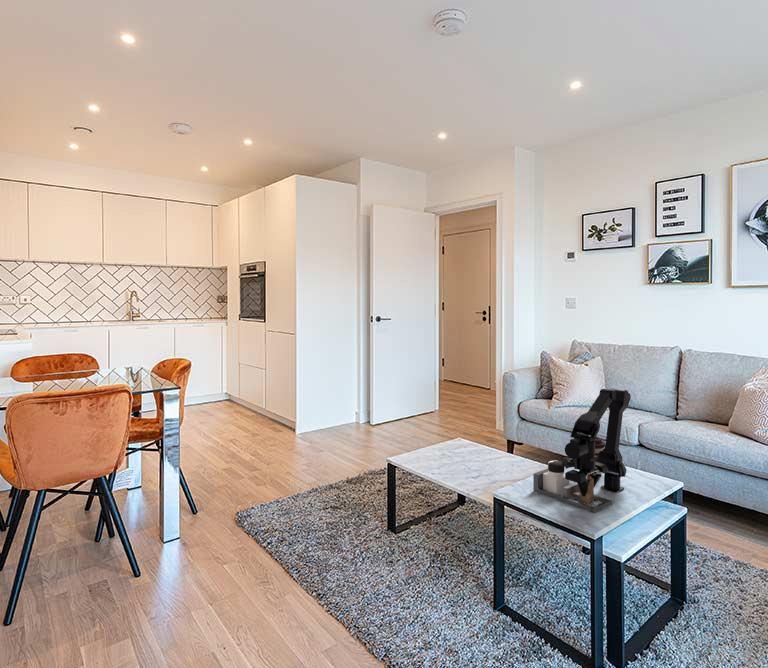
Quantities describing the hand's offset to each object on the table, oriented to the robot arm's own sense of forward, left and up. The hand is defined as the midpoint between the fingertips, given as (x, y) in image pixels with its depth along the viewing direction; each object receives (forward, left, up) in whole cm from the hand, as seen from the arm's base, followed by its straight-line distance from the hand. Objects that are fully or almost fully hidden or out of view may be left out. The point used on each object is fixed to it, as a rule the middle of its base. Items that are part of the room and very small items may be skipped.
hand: (586, 494), depth 180 cm
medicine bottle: (0, -13, -3) cm, 13 cm away
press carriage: (0, -3, -3) cm, 4 cm away
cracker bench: (0, -6, -3) cm, 7 cm away
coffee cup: (-31, -16, -3) cm, 35 cm away
